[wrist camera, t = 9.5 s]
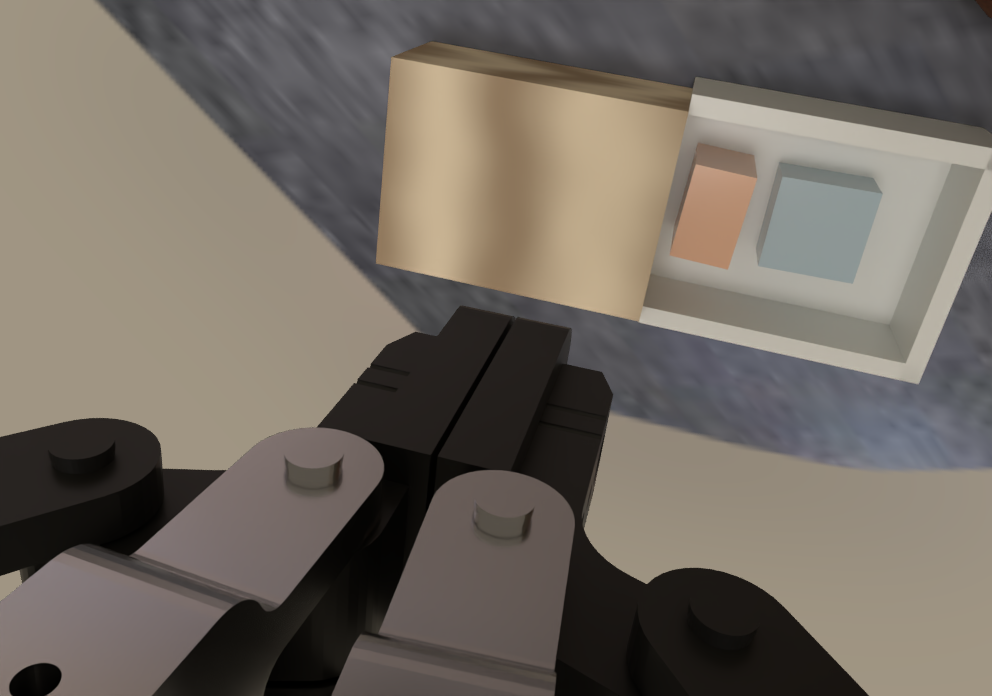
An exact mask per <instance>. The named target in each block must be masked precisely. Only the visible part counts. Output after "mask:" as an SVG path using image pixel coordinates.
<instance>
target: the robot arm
mask: <svg viewBox="0 0 992 696" xmlns="http://www.w3.org/2000/svg"><path fill="white" fill-rule="evenodd" d="M571 333H572V329H571V328H567V327H563V326H558V325H553V324H548V323H543V322H539V321H534V320H529V319H524V318H520V317H517V318H516V320H515V317H514V316H509V315H504V314H500V313H495V312H490V311H485V310H481V309H476V308H471V307H466V306H460V307H459V308H458V309H457V310H456V312H455V313H454V314H453V316H452V317H451V318H450V320H449V321H448V323H447V324H446V325H445V327H444V328H443V329H442V331H441V332H440V333H439V335H438V336H432V335H428V334H423V333H418V332H414V333H412V334H410V335H408V336H405V337H403V338H401V339H399V340H397V341H394V342H392V343H390V344H388V345H386V347H385V348H384V349H383V350H382V351H381V352H380V354H379V355H378V356H377V357H376V358H375V359H374V361H373V362H372V363H371V366H370V368H367V369H366V370H365V371H364V373H363V374H362V375H361V376H360V377H359V378H358V381H357V384H355V383H354V384H353V385H352V386H351V388H350V389H349V390H348V391H347V392H346V394H345V395H344V396H343V397H342V398H341V399H340V401H339V402H338V403H337V404H336V405H335V407H334V408H333V409H332V410H331V411H330V412H329V414H328V415H327V416H326V417H325V418H324V419H323V421H322V422H321V423H320V424H319V425H318V427H317V428H313V427H312V428H299V429H293V430H288V431H284V432H281V433H277V434H275V435H272V436H269V437H267V438H266V439H264V440H262V441H260V442H259V443H257V444H256V445H255V446H253V447H252V448H251V449H250V450H249V451H248V452H247V453H245V454H244V455H243V456H242V457H241V458H240V459H239V460H238V461H237V462H235V463H234V464H233V465H232V466H231V467H230V468H229V469H228V470H188V469H162V457H161V448H160V443H159V441H158V439H157V437H156V436H155V435H154V434H153V433H152V432H151V431H149V430H147V429H146V428H144V427H142V426H140V425H138V424H135V423H132V422H128V421H124V420H118V419H109V418H89V419H80V420H73V421H68V422H63V423H59V424H54V425H50V426H46V427H41V428H37V429H33V430H28V431H25V432H20V433H16V434H12V435H7V436H3V437H0V576H1V575H5V574H7V573H11V572H14V571H17V570H20V574H21V580H22V584H21V585H20V586H19V587H18V588H16V589H15V590H14V591H13V592H12V593H10V594H9V595H8V596H6V597H5V598H4V599H3V600H1V601H0V696H869V695H868V694H867V693H866V692H865V691H864V690H863V689H862V688H861V687H860V686H859V685H858V684H857V683H856V682H855V681H854V680H853V679H852V677H851V676H850V675H849V674H848V673H847V672H846V671H845V670H844V669H843V668H842V667H841V666H840V665H839V664H838V663H837V662H836V661H835V660H834V659H833V658H832V657H831V656H830V655H829V654H828V652H827V651H826V650H825V649H824V648H823V647H822V646H821V645H820V644H819V643H818V642H817V641H816V640H815V639H814V638H813V637H812V636H811V635H810V634H809V633H808V632H807V631H806V630H805V629H804V627H803V626H802V625H801V624H800V623H799V622H798V621H797V620H796V619H795V618H794V617H793V616H792V615H791V614H790V613H789V612H788V611H787V610H786V609H785V608H784V607H783V606H782V605H781V604H780V603H779V602H778V601H777V600H776V599H774V597H772V596H771V595H769V594H768V593H767V592H765V591H764V590H763V589H760V588H759V587H757V586H756V585H754V584H752V583H750V582H748V581H746V580H744V579H742V578H739V577H737V576H734V575H731V574H728V573H725V572H721V571H716V570H712V569H703V568H683V569H676V570H672V571H669V572H666V573H663V574H661V575H659V576H658V577H655V578H654V579H653V580H651V581H650V582H649V583H648V584H645V583H643V582H641V581H639V580H637V579H635V578H634V577H631V576H630V575H628V574H626V573H624V572H623V571H621V570H619V569H618V568H616V567H615V566H613V565H612V564H611V563H609V562H608V561H607V560H606V559H604V557H603V556H601V555H600V554H599V553H598V552H597V550H596V549H595V548H594V547H593V546H592V544H591V543H590V541H589V539H588V538H587V536H586V534H585V531H584V527H585V522H586V518H587V515H588V511H589V506H590V503H591V499H592V495H593V491H594V486H595V481H596V476H597V471H598V466H599V461H600V457H601V452H602V447H603V442H604V437H605V432H606V426H607V422H608V417H609V412H610V407H611V402H612V398H613V393H612V391H611V389H610V387H609V385H608V383H607V381H606V379H605V377H604V375H603V373H602V372H599V371H595V370H590V369H585V368H581V367H576V366H572V365H567V361H568V355H569V349H570V343H571Z"/></svg>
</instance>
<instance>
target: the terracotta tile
mask: <svg viewBox="0 0 992 696" xmlns="http://www.w3.org/2000/svg"><path fill="white" fill-rule="evenodd" d="M756 182H757V172H756V165H755V158H754V155H751V154H746V153H742V152H737V151H733V150H729V149H724V148H720V147H715V146H711V145H707V144H702V143H698V144H697V147H696V151H695V154H694V158H693V161H692V165H691V168H690V172H689V175H688V179H687V182H686V186H685V190H684V193H683V197H682V200H681V204H680V207H679V211H678V214H677V218H676V221H675V225H674V229H673V236H672V242H671V248H670V256H674V257H678V258H682V259H686V260H690V261H694V262H699V263H703V264H707V265H711V266H715V267H719V268H723V269H727V270H728V268H729V265H730V262H731V259H732V255H733V252H734V249H735V246H736V243H737V240H738V237H739V234H740V231H741V228H742V225H743V222H744V218H745V215H746V212H747V209H748V206H749V203H750V200H751V197H752V194H753V191H754V188H755V185H756Z"/></svg>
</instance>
